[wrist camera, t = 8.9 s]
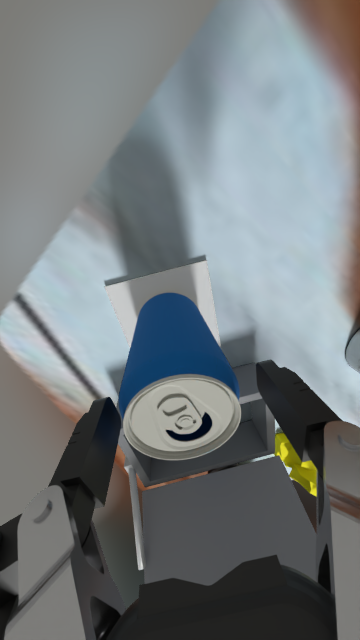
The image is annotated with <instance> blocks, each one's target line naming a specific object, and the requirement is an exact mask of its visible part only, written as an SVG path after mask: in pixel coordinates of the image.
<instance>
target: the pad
mask: <svg viewBox="0 0 360 640" xmlns="http://www.w3.org/2000/svg"><path fill="white" fill-rule="evenodd" d="M105 289H106V292H107V294H108V297H109V299H110V301H111V304H112V306H113V309H114V311H115V313H116V316H117V318H118V320H119V323H120V325H121V328H122V330H123V332H124V335H125V337H126V340H127V342H128V344H129V347H131V343H132V339H133V335H134V331H135V327H136V323H137V319H138V315H139V312H140V310H141V308H142V307H143V305H144V304H145V303H146V302H147V301H148V300H149V299H151V298H152V297H154V296H156V295H159V294H162V293H178V294H181V295H184V296H186V297H188V298H189V299H191V300H192V301H193V302H194V303H195V305H196V306H197V308H198V309H199V311H200V313H201V315H202V316H203V318H204V320H205V322H206V324H207V325H208V327H209V329H210V331H211V332H212V334H213V336H214V338H215V339H216V341H217V343H218V345H219V347H221V344H220V338H219V332H218V326H217V320H216V314H215V307H214V301H213V295H212V289H211V283H210V277H209V271H208V265H207V260H204V261H200V262H196V263H192V264H189V265H185V266H181V267H177V268H173V269H169V270H166V271H162V272H158V273H154V274H150V275H146V276H142V277H139V278H135V279H131V280H127V281H123V282H119V283H115V284H112V285H108V286H105Z"/></svg>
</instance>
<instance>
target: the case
mask: <svg viewBox="0 0 360 640" xmlns="http://www.w3.org/2000/svg"><path fill="white" fill-rule="evenodd" d="M232 370H233V371H234V373H235V375H236V377H237V380H238V383H239V389H240V397H239V403H240V404H243V403H247V402H250V404H251V415H252V420H250V421H246V422H242V423H239V425H238V427H237V429H236V431H235V432H234V434H233V435H232V436H231V437H230V438H229V440H227V441H226V442H225V443H224V444H223V445H221V446H220V447H218V448H217V449H215V450H213V451H211V452H209V453H207V454H204V455H202V456H199V457H195V458H191V459H185V460H163V459H157V458H153V457H150V456H148V455H145V454H143V453H141V452H140V451H138V450H137V449H135V448H134V447H133V446H132V445H131V444H130V443H129V441H128V440H127V438H126V436H125V434H124V430H123V419H122V417H121V414H120V410H119V399H118V403H117V407H116V409H117V411H118V413H119V414H120V417H121V430H120V435H119V440H118V444H119V446H120V447H121V449H122V451H123V452H124V454H125V456H126V457H125V464H124V468H125V469H126V471H127V472H128V474H129V480H130V490H131V500H132V510H133V520H134V530H135V540H136V550H137V559H138V569H139V570H142V569H145V584H147V583H152V582H156V581H160V580H165V579H169V578H177V579H181V580H185V581H189V582H194V583H198V584H202V585H207V586H209V585H212V584H214V583H215V582H217V581H218V580H219V579H221V578H222V577H223V576H225V575H226V574H227V573H229V572H230V571H232V570H233V569H234V568H236V567H237V566H238V565H240V564H241V563H242V562H245V561H250V560H254V559H259V558H263V557H268V556H272V555H277V557H278V559H279V562H280V565H285V566H288V567H291V568H294V569H296V570H298V571H300V572H302V573H304V574H306V575H307V576H309V577H310V578H312V579H313V580H315V581H316V536H317V535H316V533H315V531H314V529H313V526H312V524H311V522H310V520H309V518H308V516H307V514H306V511H305V509H304V507H303V505H302V503H301V501H300V499H299V497H298V495H297V492H296V490H295V488H294V486H293V484H292V481H291V479H290V477H289V475H288V473H287V471H286V469H285V466H284V464H283V462H282V460H281V458H280V456H279V455H278V456H275V457H271V458H267V459H263V460H259V461H256V462H252V463H248V464H244V465H240V466H237V467H233V468H229V469H225V470H221V471H218V472H214V473H210V474H206V475H202V476H199V477H195V478H191V479H187V480H184V481H180V482H176V483H172V484H168V485H165V486H161V487H157V488H153V489H149V490H146V491H142V496H143V532H144V543H143V534H142V525H141V516H140V508H139V499H138V490H137V481H136V473H137V475H138V476H139V478H140V480H141V481H142V483H143V485H144V486H145V487H148V486H152V485H156V484H160V483H163V482H167V481H171V480H175V479H179V478H182V477H186V476H190V475H194V474H198V473H201V472H205V471H209V470H213V469H217V468H220V467H224V466H228V465H232V464H236V463H239V462H243V461H247V460H251V459H255V458H258V457H262V456H266V455H270V454H274V453H275V418H274V416H273V414H272V413H271V411H270V410H269V408H268V406H267V405H266V403H265V402H264V400H263V398H262V397H261V395H260V393H259V390H258V387H257V377H256V364H255V363H251V364H247V365H243V366H239V367H235V368H232Z"/></svg>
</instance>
